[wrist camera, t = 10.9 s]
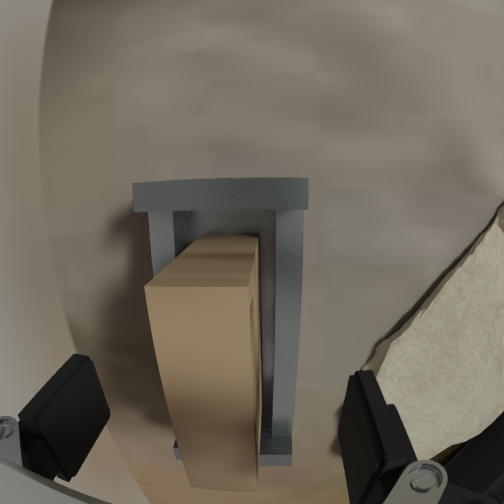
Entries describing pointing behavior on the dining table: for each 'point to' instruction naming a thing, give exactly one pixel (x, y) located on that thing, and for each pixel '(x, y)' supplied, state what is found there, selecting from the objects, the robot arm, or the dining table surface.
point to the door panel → (212, 357)
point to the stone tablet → (450, 353)
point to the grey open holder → (271, 271)
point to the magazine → (481, 462)
